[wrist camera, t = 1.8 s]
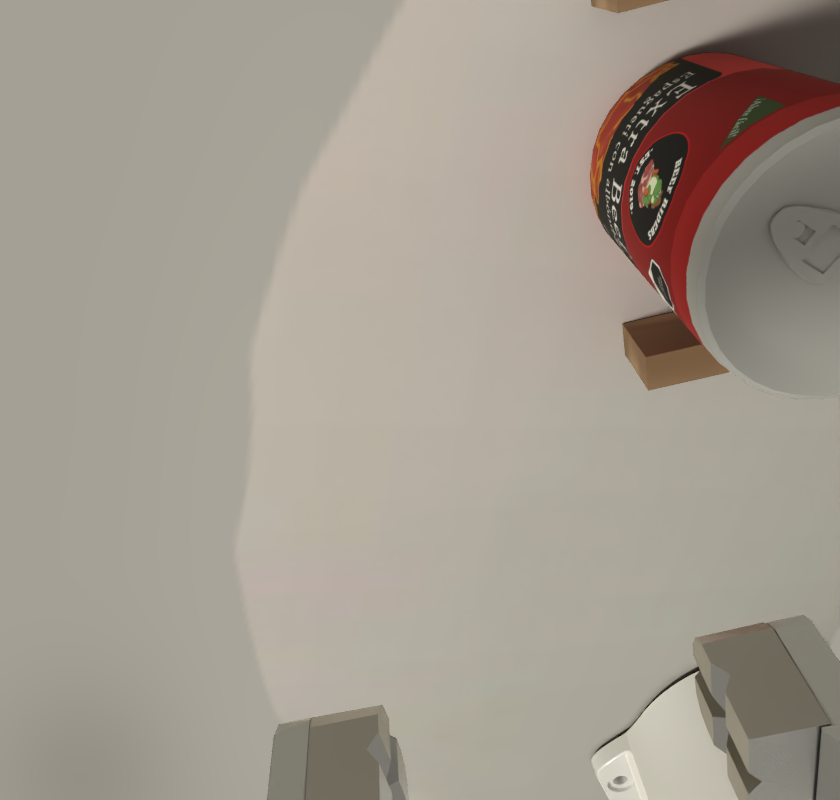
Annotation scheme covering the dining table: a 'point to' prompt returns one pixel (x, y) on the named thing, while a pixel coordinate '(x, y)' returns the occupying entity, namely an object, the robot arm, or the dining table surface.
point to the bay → (662, 316)
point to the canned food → (733, 211)
